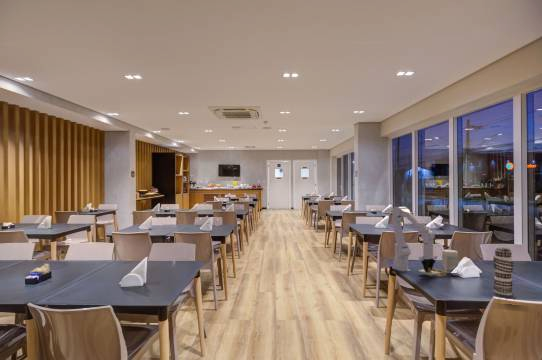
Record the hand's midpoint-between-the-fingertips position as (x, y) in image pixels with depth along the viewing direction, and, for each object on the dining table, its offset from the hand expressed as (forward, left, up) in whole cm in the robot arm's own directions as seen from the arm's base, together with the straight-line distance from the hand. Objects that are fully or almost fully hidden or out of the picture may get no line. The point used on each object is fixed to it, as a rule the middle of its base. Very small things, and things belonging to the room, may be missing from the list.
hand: (428, 270), depth 213 cm
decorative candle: (+38, +12, -4) cm, 41 cm away
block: (0, +8, -3) cm, 9 cm away
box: (0, +8, -4) cm, 9 cm away
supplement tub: (-2, +23, -4) cm, 24 cm away
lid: (0, 0, -2) cm, 2 cm away
